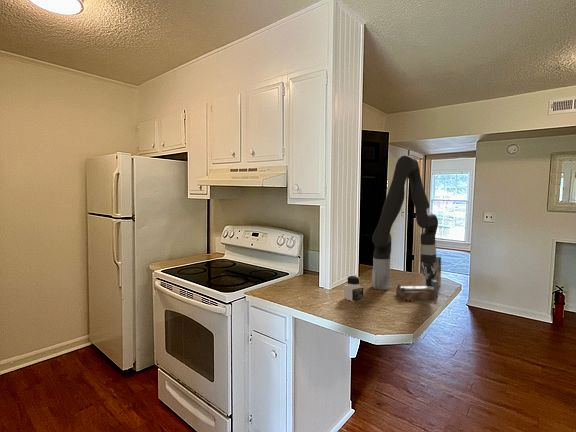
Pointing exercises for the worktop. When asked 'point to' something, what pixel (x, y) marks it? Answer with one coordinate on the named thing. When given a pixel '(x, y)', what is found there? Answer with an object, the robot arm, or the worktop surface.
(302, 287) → the worktop surface
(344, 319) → the worktop surface
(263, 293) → the worktop surface
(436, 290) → the dark grey block
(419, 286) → the clamp strap
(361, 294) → the medicine bottle
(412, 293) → the walnut block
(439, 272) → the coffee box
